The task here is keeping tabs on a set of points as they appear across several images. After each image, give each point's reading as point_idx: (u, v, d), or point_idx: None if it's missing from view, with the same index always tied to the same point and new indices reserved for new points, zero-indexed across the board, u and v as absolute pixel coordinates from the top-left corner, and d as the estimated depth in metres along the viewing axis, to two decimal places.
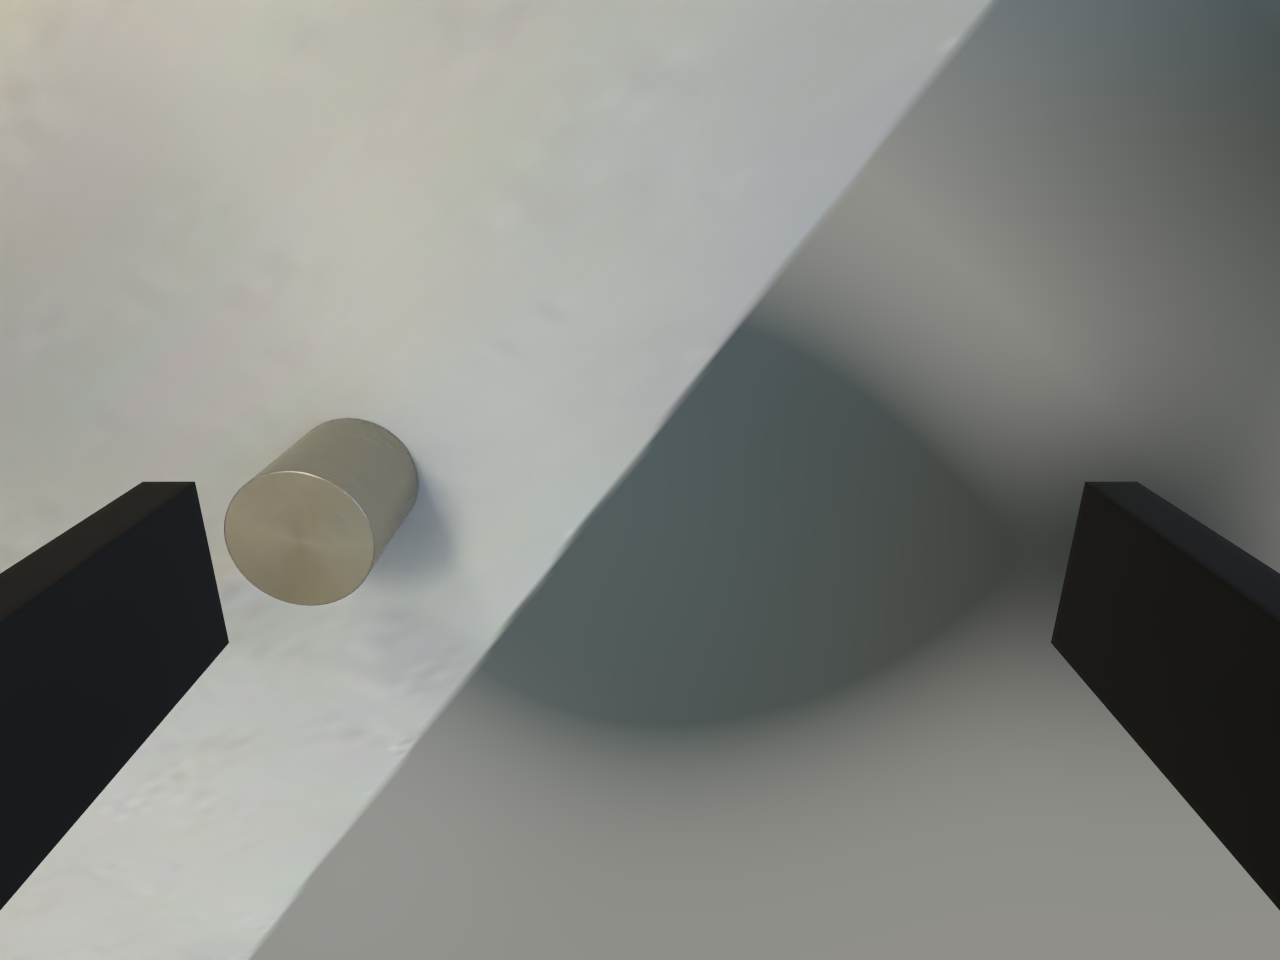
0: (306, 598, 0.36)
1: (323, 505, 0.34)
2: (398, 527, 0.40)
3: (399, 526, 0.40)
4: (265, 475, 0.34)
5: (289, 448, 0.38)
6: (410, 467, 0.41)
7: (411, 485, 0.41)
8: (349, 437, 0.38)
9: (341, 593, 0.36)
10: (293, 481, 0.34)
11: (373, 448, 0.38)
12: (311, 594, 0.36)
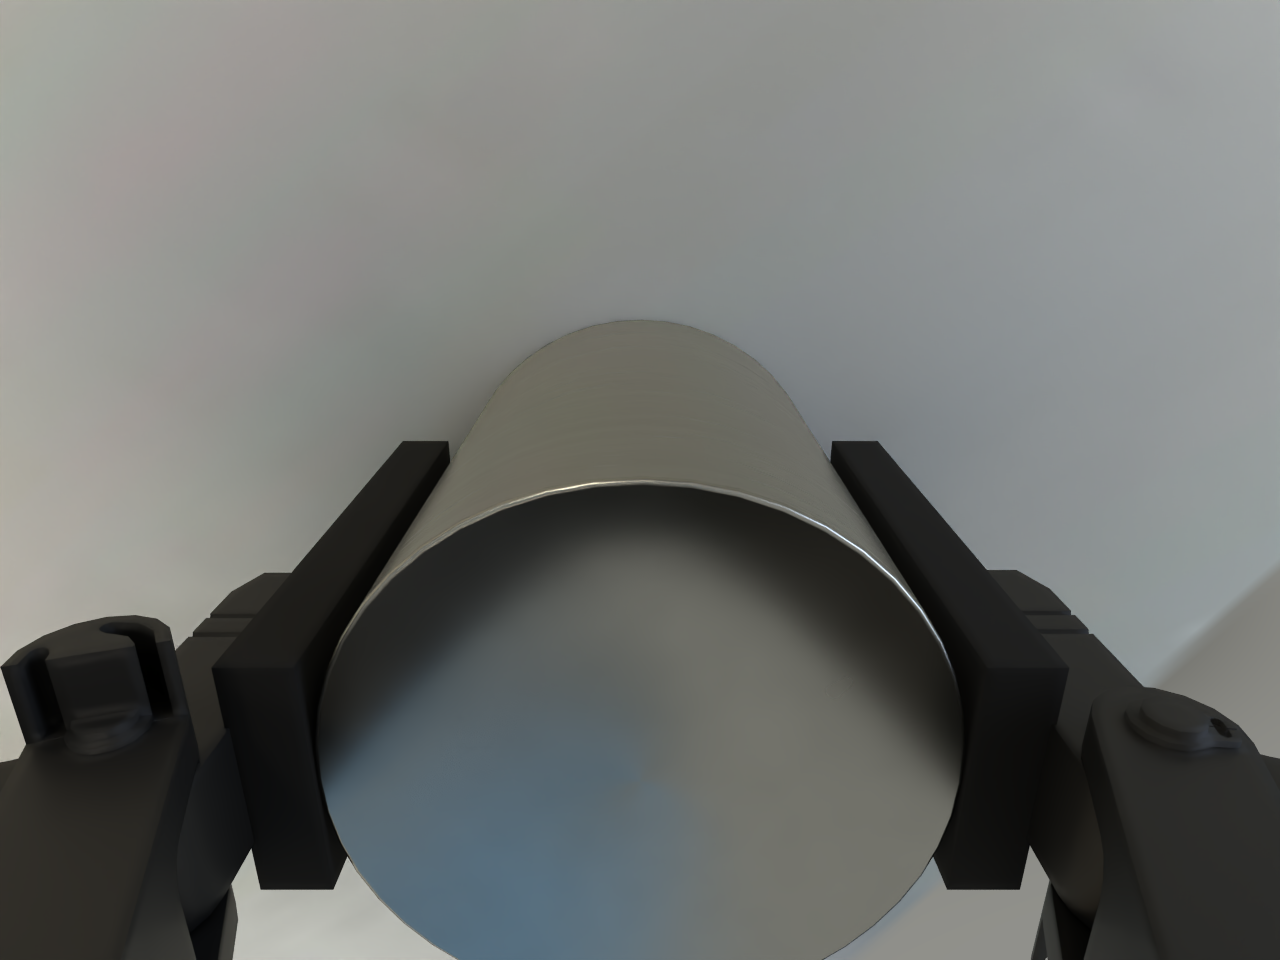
0: None
1: (775, 637, 0.07)
2: None
3: None
4: (520, 502, 0.07)
5: (507, 401, 0.11)
6: None
7: None
8: (703, 361, 0.11)
9: None
10: (653, 531, 0.07)
11: (776, 398, 0.12)
12: None
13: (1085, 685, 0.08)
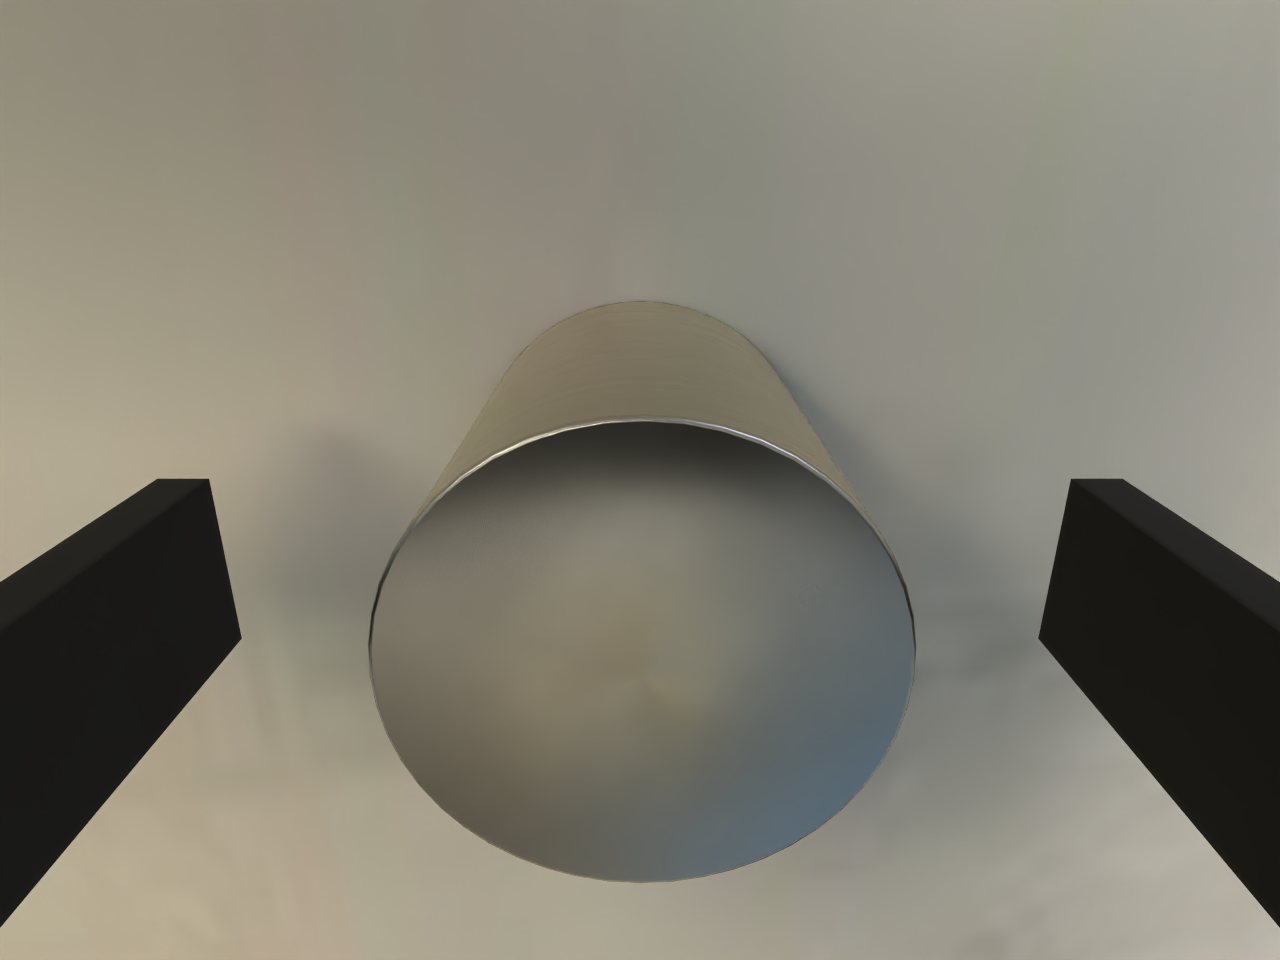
0: (638, 863, 0.11)
1: (755, 552, 0.09)
2: None
3: None
4: (542, 436, 0.08)
5: (524, 369, 0.13)
6: None
7: None
8: (697, 334, 0.13)
9: (761, 846, 0.10)
10: (653, 460, 0.09)
11: (761, 368, 0.13)
12: (657, 850, 0.10)
13: None
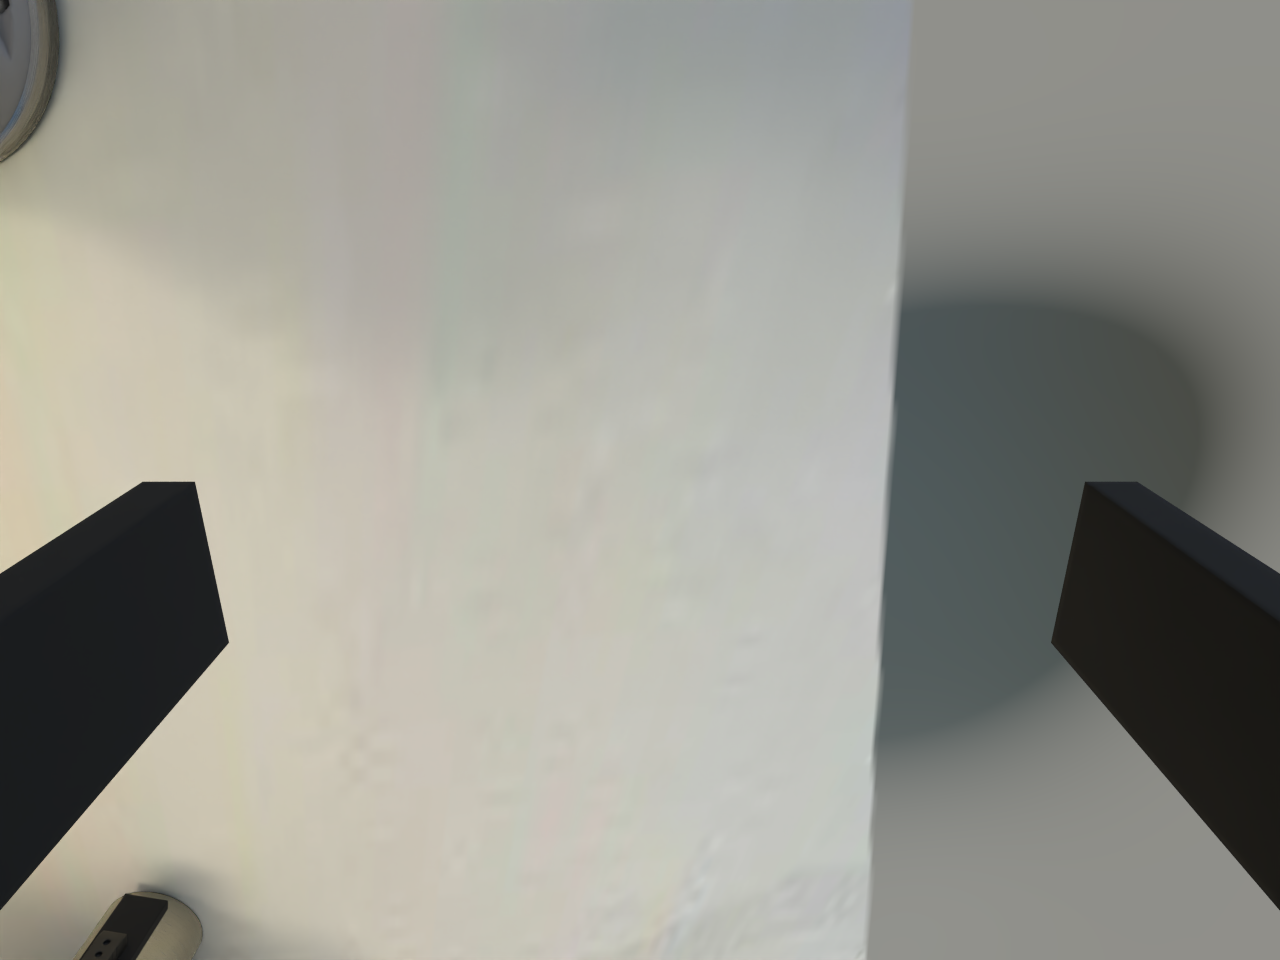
0: None
1: None
2: None
3: None
4: None
5: (90, 939, 0.52)
6: (192, 926, 0.55)
7: (191, 942, 0.54)
8: None
9: None
10: None
11: (153, 933, 0.52)
12: None
13: None
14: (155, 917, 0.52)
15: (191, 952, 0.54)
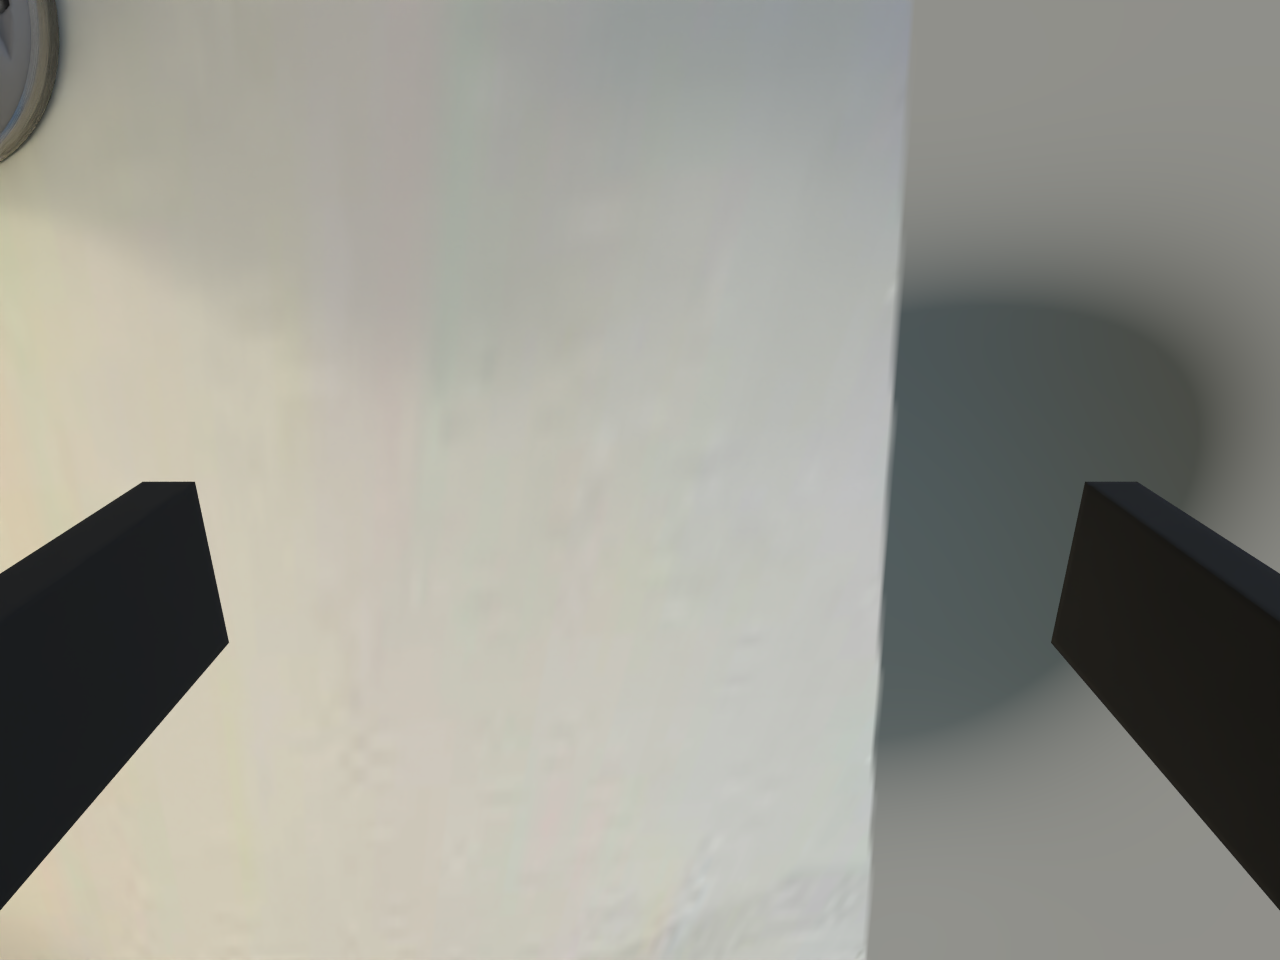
0: None
1: None
2: None
3: None
4: None
5: None
6: None
7: None
8: None
9: None
10: None
11: None
12: None
13: None
14: None
15: None
